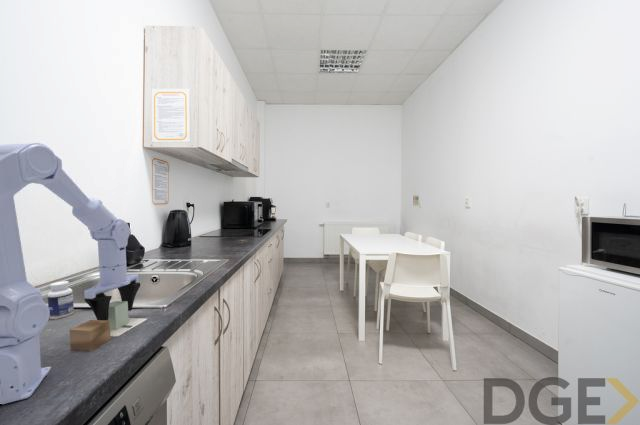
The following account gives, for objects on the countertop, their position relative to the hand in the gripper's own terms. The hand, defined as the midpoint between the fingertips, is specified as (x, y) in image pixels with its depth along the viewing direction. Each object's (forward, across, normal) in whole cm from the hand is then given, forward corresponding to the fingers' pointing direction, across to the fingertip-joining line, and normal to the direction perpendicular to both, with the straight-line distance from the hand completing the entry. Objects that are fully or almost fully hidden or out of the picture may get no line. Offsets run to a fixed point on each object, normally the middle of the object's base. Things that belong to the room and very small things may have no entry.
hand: (115, 316), depth 73 cm
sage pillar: (+3, 0, 0) cm, 3 cm away
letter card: (+3, 0, 0) cm, 3 cm away
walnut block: (+3, -9, -2) cm, 10 cm away
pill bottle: (+3, +6, +23) cm, 24 cm away
